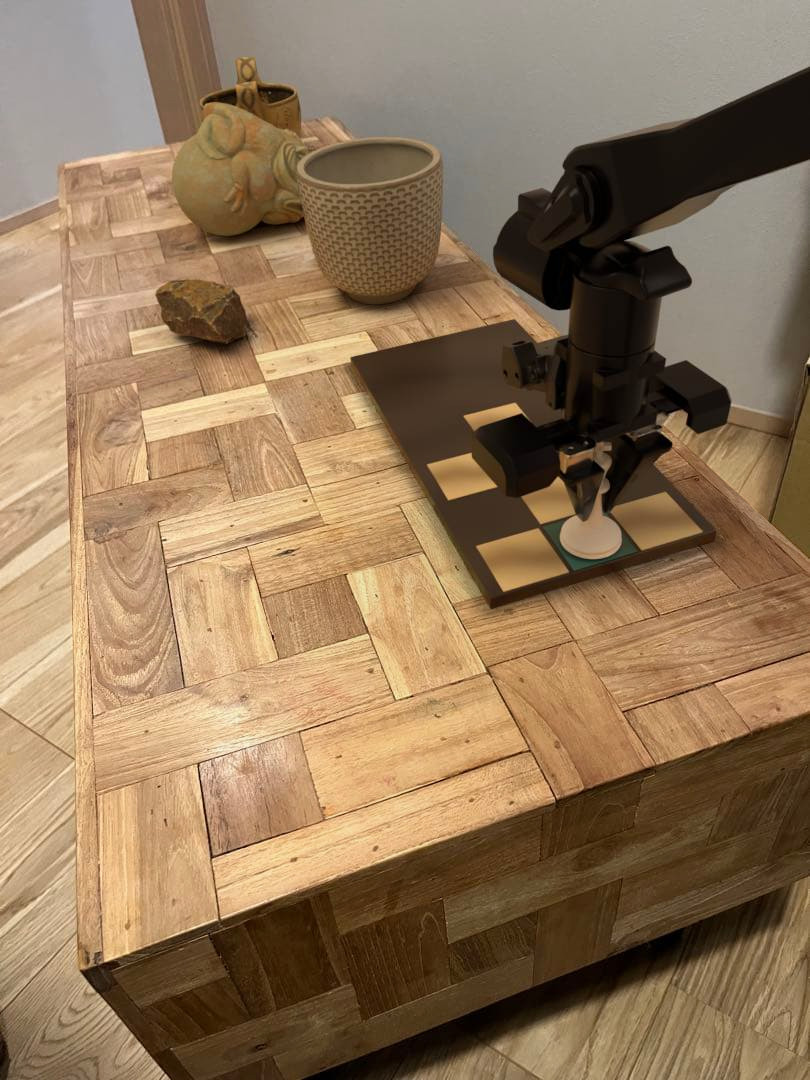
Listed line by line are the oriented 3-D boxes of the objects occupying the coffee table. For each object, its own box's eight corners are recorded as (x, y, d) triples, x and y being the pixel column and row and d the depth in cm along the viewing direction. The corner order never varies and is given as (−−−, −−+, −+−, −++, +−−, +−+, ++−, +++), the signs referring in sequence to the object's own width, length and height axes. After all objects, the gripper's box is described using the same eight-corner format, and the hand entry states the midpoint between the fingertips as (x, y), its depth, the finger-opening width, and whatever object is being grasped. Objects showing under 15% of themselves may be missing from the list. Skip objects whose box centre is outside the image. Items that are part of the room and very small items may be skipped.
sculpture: (244, 274, 115) (351, 184, 117) (142, 146, 107) (258, 51, 109) (227, 278, 131) (321, 199, 133) (137, 167, 123) (239, 84, 125)
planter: (400, 333, 97) (388, 196, 87) (287, 304, 105) (263, 175, 94) (472, 274, 108) (470, 145, 97) (364, 252, 115) (351, 129, 104)
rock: (175, 372, 94) (260, 353, 96) (160, 322, 90) (250, 303, 92) (163, 322, 104) (241, 306, 106) (150, 275, 100) (231, 259, 102)
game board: (714, 541, 68) (717, 529, 67) (490, 609, 64) (490, 597, 63) (514, 328, 96) (514, 317, 96) (351, 366, 93) (349, 356, 92)
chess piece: (626, 558, 65) (641, 455, 58) (563, 561, 65) (570, 459, 59) (615, 517, 69) (628, 416, 62) (556, 520, 69) (562, 420, 62)
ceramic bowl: (311, 177, 139) (297, 78, 129) (211, 190, 138) (188, 91, 128) (304, 138, 156) (290, 47, 146) (214, 149, 155) (194, 58, 145)
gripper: (654, 260, 63) (631, 429, 73) (433, 322, 58) (442, 494, 69) (756, 319, 55) (714, 499, 66) (511, 396, 50) (508, 577, 61)
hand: (592, 513), depth 65 cm, fingers closed on chess piece
